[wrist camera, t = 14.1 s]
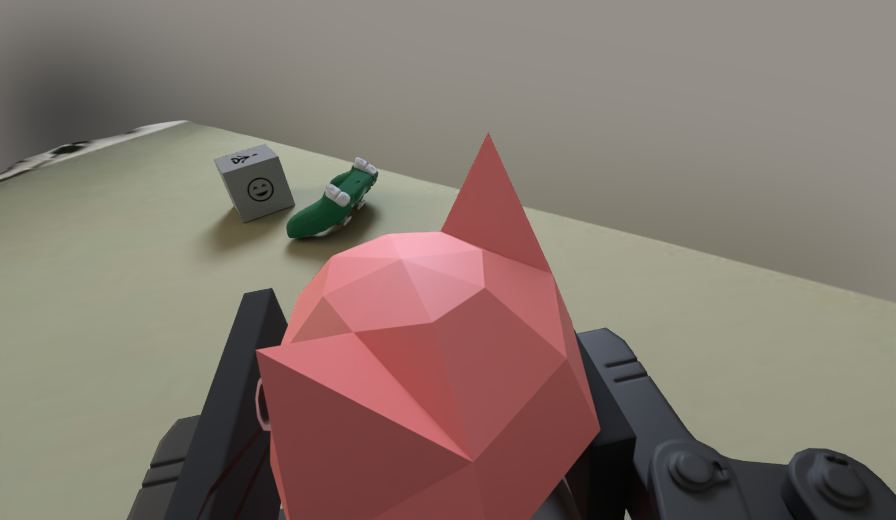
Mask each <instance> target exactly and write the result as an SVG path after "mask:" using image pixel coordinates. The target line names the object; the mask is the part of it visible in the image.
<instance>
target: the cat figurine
mask: <svg viewBox="0 0 896 520" xmlns="http://www.w3.org/2000/svg"><path fill="white" fill-rule="evenodd" d="M256 355H257V360H258V365H259V370H260V375H261V378H260V379H259V381H258V385H257V391H256V398H255V400H256V409H257V418H258V420H259V422H260V424H261V427H260V428H259V429H258V430H257V431H256V433H255V434H254V435H253V436H252V438H251V439H250V440H249V441H248V443H247V444H246V445H245V446H244V447H243V449H242V450H241V451H240V452H239V454H238V455H237V456H236V457H235V459H234V460H233V461H232V462H231V463H230V465H229V466H228V467H227V468H226V470H225V471H224V472H223V473H222V474H221V476H220V477H219V478H218V479H217V481H216V482H215V483H214V484H213V486H212V487H211V488H210V489H209V491H208V494H207V496H206V498H205V501H204V503H203V505H202V508H201V510H200V512H199V515H198V517H197V519H196V520H199V518H200V516H201V514H202V512H203V510H204V508H205V507H206V505H207V503H208V501H209V499H210V497H211V495H212V494H213V493H214V492H215V490H216V489H217V488H218V487H219V485H220V484H221V483H222V482H223V480H224V479H225V478H226V477H227V475H228V474H229V473H230V472H231V470H232V469H233V468H234V467H235V465H236V464H237V463H238V462H239V460H240V459H241V458H242V457H243V455H244V454H245V453H246V452H247V450H248V449H249V448H250V447H251V445H252V444H253V443H254V442H255V440H256V439H257V438H258V437H259V435H260V434H261V433H262V432H263V430H267V431H271V438H270V440H269V442H268V444H267V446H266V449H265V451H264V453H263V455H262V457H261V459H260V461H259V463H258V466H257V468H256V470H255V472H254V474H253V476H252V478H251V480H250V482H249V485H248V487H247V489H246V491H245V493H244V495H243V497H242V499H241V502H240V504H239V506H238V508H237V510H236V512H235V514H234V516H233V519H232V520H237V519H238V517H239V515H240V512H241V510H242V508H243V506H244V504H245V502H246V499H247V497H248V495H249V493H250V491H251V489H252V486H253V484H254V482H255V480H256V478H257V476H258V474H259V471H260V469H261V467H262V465H263V463H264V461H265V458H266V456H267V454H268V452H269V450H270V464H271V468H272V471H273V475H274V478H275V482H276V485H277V489H278V492H279V496H280V499H281V503H282V506H283V510H284V513H285V517H286V520H530V519H531V517H532V516H533V515H534V514H535V512H536V511H537V510H538V508H539V507H540V506H541V505H542V503H543V502H544V501H545V500H546V498H547V497H548V496H549V495H550V493H551V492H552V491H553V489H554V488H555V487H556V486H557V484H558V483H559V482H560V481H561V479H562V478H563V477H564V476H565V474H566V473H567V472H568V471H569V469H570V468H571V467H572V465H573V464H574V463H575V462H576V460H577V459H578V458H579V457H580V455H581V454H582V453H583V452H584V450H585V449H586V448H587V446H588V445H589V444H590V443H591V441H592V440H593V439H594V438H595V436H596V435H597V434H598V433H599V431H600V426H599V422H598V418H597V415H596V411H595V407H594V403H593V400H592V396H591V392H590V388H589V385H588V381H587V377H586V373H585V370H584V366H583V362H582V358H581V355H580V351H579V347H578V343H577V340H576V336H575V332H574V328H573V325H572V321H571V318H570V316H569V313H568V311H567V309H566V306H565V304H564V301H563V299H562V296H561V294H560V291H559V289H558V286H557V284H556V282H555V279H554V277H553V274H552V272H551V270H550V268H549V265H548V263H547V261H546V259H545V256H544V254H543V252H542V250H541V248H540V245H539V243H538V241H537V239H536V237H535V234H534V232H533V230H532V228H531V226H530V223H529V221H528V219H527V217H526V215H525V212H524V210H523V208H522V206H521V204H520V201H519V199H518V197H517V195H516V193H515V190H514V188H513V186H512V184H511V182H510V179H509V177H508V175H507V173H506V170H505V168H504V166H503V164H502V162H501V159H500V157H499V155H498V153H497V151H496V148H495V146H494V144H493V142H492V139H491V137H490V135H489V133H488V134H487V136H486V138H485V140H484V142H483V144H482V146H481V149H480V151H479V153H478V155H477V157H476V159H475V161H474V163H473V165H472V167H471V169H470V171H469V174H468V176H467V178H466V180H465V182H464V184H463V186H462V188H461V190H460V192H459V194H458V196H457V199H456V201H455V203H454V205H453V207H452V209H451V211H450V213H449V215H448V217H447V219H446V221H445V224H444V226H443V228H442V230H441V232H418V233H393V234H386V235H383V236H381V237H378V238H376V239H373V240H371V241H368V242H366V243H363V244H361V245H358V246H356V247H353V248H351V249H349V250H346V251H344V252H341V253H339V254H336V255H334V256H331V258H330V259H329V260H328V261H327V262H326V264H325V265H324V266H323V267H322V268H321V270H320V271H319V272H318V273H317V274H316V276H315V277H314V278H313V279H312V280H311V281H310V283H309V284H308V285H307V286H306V287H305V289H304V290H303V291H302V292H301V293H300V295H299V297H298V300H297V302H296V305H295V308H294V310H293V313H292V316H291V319H290V321H289V324H288V327H287V329H286V332H285V335H284V337H283V340H282V343H281V345H280V346H275V347H269V348H264V349H258V350H256Z"/></svg>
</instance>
